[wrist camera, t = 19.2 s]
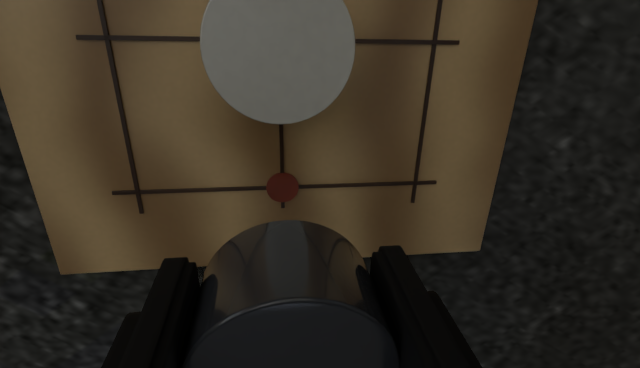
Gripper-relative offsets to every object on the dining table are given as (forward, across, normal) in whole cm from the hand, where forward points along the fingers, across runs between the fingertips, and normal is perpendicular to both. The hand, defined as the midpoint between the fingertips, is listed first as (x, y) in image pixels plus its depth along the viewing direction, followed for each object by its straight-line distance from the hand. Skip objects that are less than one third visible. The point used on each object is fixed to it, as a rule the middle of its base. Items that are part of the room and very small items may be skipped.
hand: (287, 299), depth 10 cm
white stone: (+7, 0, -6) cm, 9 cm away
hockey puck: (0, 0, 0) cm, 0 cm away
